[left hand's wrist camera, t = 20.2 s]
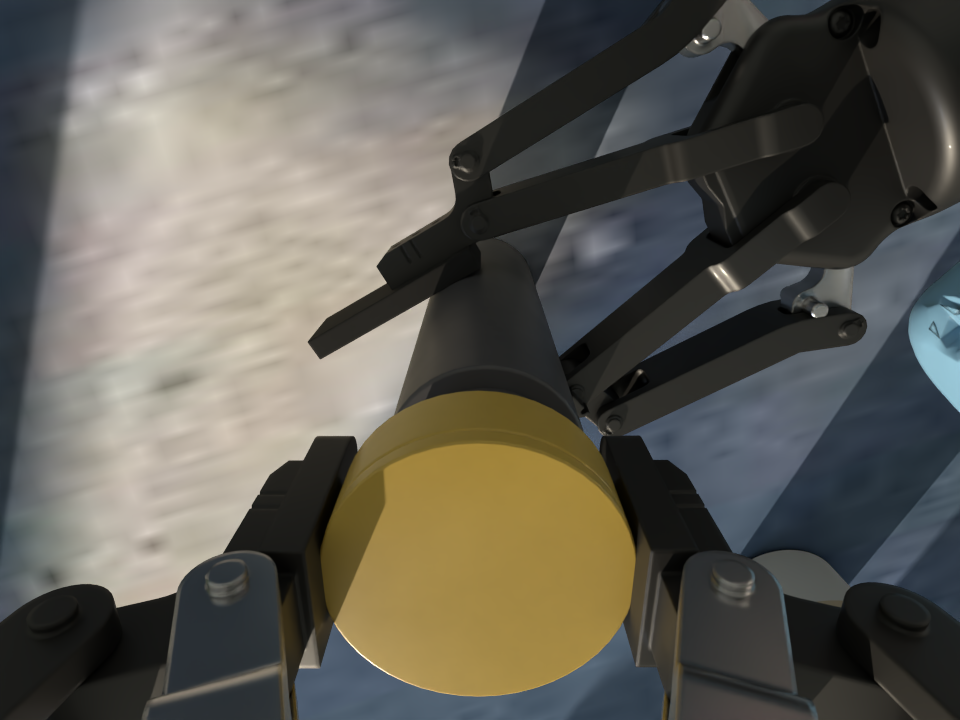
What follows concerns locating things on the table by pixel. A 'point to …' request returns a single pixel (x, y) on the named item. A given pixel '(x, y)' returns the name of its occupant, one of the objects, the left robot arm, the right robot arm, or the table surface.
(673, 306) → the right robot arm
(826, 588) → the coffee cup
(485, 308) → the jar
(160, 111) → the table surface
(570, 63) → the table surface
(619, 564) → the lid
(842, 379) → the table surface
